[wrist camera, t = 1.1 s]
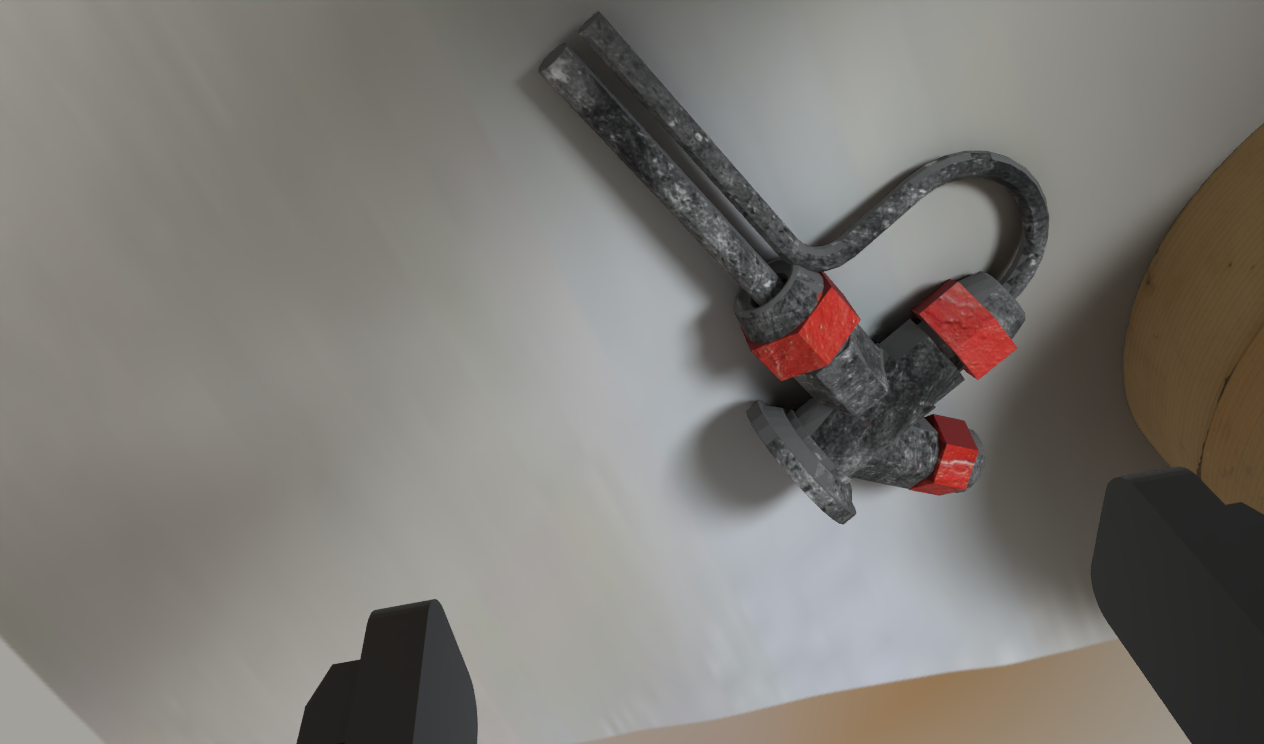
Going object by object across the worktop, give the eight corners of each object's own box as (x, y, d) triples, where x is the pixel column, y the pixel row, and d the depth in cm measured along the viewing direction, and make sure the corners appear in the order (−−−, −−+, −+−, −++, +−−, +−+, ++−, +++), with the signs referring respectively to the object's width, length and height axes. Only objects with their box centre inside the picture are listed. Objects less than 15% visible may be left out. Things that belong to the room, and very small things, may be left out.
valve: (1094, 310, 42) (843, 510, 45) (762, -179, 30) (455, 134, 33) (1191, 372, 36) (898, 596, 39) (831, -197, 25) (454, 180, 28)
